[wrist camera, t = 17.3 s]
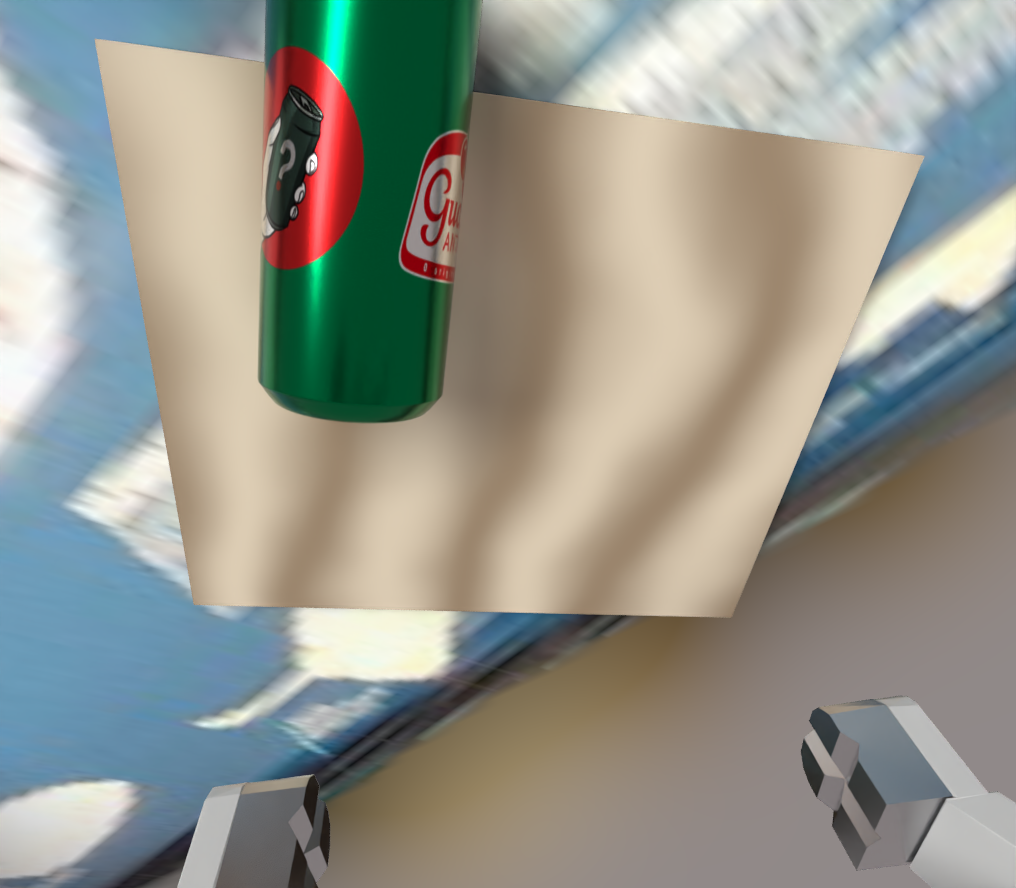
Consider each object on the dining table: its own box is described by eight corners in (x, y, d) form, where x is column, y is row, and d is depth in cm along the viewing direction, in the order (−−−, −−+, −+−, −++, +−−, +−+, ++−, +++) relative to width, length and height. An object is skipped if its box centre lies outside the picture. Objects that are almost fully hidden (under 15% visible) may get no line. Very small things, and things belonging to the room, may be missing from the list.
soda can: (434, 438, 15) (492, -138, 12) (227, 414, 15) (232, -187, 12) (444, 398, 20) (488, -22, 17) (288, 380, 20) (303, -54, 17)
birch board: (205, 580, 27) (193, 604, 26) (120, 41, 17) (94, 38, 16) (719, 594, 30) (731, 617, 29) (894, 151, 21) (924, 155, 19)
